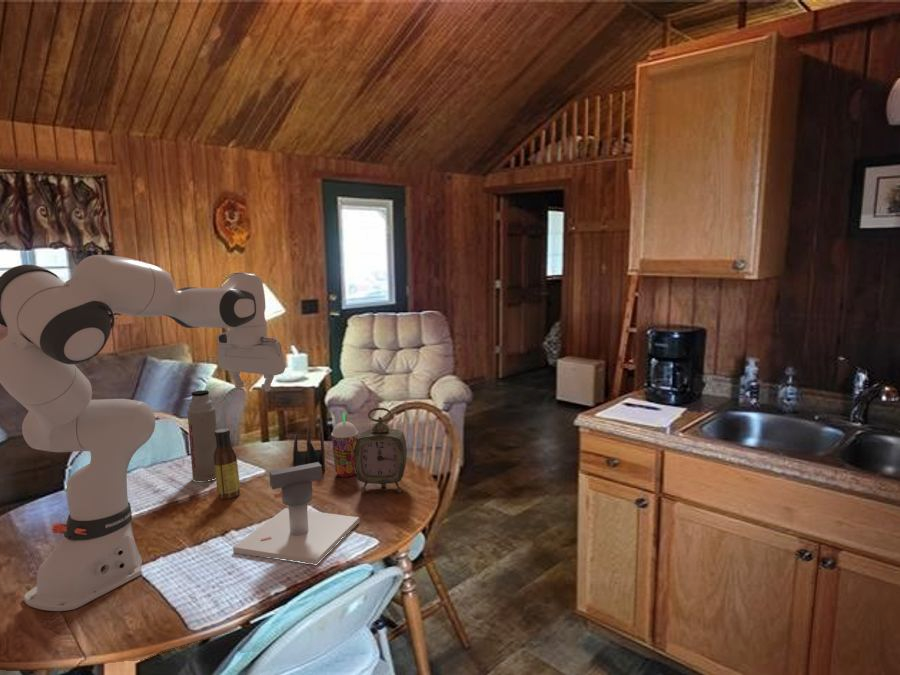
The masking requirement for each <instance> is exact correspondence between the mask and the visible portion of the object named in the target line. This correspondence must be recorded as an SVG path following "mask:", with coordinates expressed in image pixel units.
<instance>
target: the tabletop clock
mask: <svg viewBox="0 0 900 675" xmlns="http://www.w3.org/2000/svg"><path fill="white" fill-rule="evenodd" d="M375 411H385V412H387V413H388V414H389V417H387V418H384V419H383V417H382V416H379V417H378V418H377V419H375V418H373V417H371V413H373V412H375ZM367 416H368V419H370V420H371V421H372V422H375V423H374V424H373V426H372V428H371V429H370V428H369V429H365V430H363V431H361V432H360V434H359V435H358V439H357V442H356V445H355V453H354V463H355V471H356V473H355V475H356V477H357V479H358V481H359V482H361V483H364V485H363V486H362V487H361V488H360V490H359V491H360V492H361V493H365V492H366V491H367V489H366V487H367V485H368V484H374V485H380V486H381V487H382V486H384V487H386V485H387V484H395V485H396V492H397V493H401V492H403V489H402V487H401V486H400V485H399V482H401V481H402V478H403V476H404V472H405V469H406V466H407V459H408V458H407V457H408V456H407V455H408V449H407V440H406V437H405V434H404V432H403V431H402V430H400V429H393V428H390V427H389V425H388V424H387V423H385V422H389V421H390V420H391V419H392V417H393V413H392V412H391V410H389V409H387V408H385V407H375V408H373V409H371V410H370V411H368V414H367Z"/></svg>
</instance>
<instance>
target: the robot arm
mask: <svg viewBox="0 0 900 675" xmlns="http://www.w3.org/2000/svg"><path fill="white" fill-rule="evenodd" d="M265 295H266V294H265V290H264V285H263V281H262V279H261V277H260V276H258V274H255V273H250V272H233V273H231V274H230V275H229V278H228V280H227V281H226V282H225V283H224V284H222V285H221V286H219V287H192V286H186V287H182V288H181V287H180V288H179V289H176V286H175V282H174V279H173V277H172V276H171V274H170V273H169V272H168V271H167V270H165V269H163V268H161V267H160V266H158V265H154V264H153V263H149V262H145V261H141V260H138V259H134V258H129V257H126V256H119V255H110V254H93V255H90V256H87V257H85V258H83V259H82V260H81V261H80V262H79V263H78V264H77V265H76V267H75V268H74V270H73V274H72V277H71V278H69V279H68V280H66V281H64V280H62V279H61V278H60V277H59V276H58V275H57V274H56V273H54V272H52V271H51V270H49V269H47V268H44V267H41V266H39V265H34V264H20V265H17V266H13V267H11V268H10V269H7V270H6V271H5V272H4V273H2V274H1V275H0V325H1V326H3V327H5V328H7V331H8V332H7V335H6V336H5V337H4V338H3V339H2V340H0V384H1V386H2V387H3V389H5V391H6V392H7V393H8V394H9V395H10V396H11V397H12V398H13V399H15V400H16V402H18V403H19V404H21V406H23V407H24V408H25V409H26V410H27V411H28V412H27V414H26V415H25V416H24V419H23V422H22V426H21V431H22V432H21V433H22V436H23V439H24V441H25V443H26V444H27V445H28V446H29V447H30V448H31V449H34V450H39V451H45V452H53V453H71V452H72V453H73V452H89V453H90V462H89V463H88V464H86V465H84V466H81V468H79V469H77V470H76V471H75V472H74V473H73V474H72V475H71V476H70V477H69V479H68V482H67V484H66V490H67V499H68V500H67V501H68V510H69V514H68V516H67V519H66V524H64V523H60V522H56V523H54V524H53V525H52V527H51V531H52V533H53V534H60V535H62V534H63V537H62V538H61V540H60V541H59V542H58V543H57V545H56V546H55V547H54V549H52V551H51V552H50V553H49V554H48V556H47V557H46V558H45V559H44V561H43V562H42V563H41V564H40V565H39V567H38V569H37V574H36V585H35V586H34V587H32V588H31V589H30V590H28V591H27V592H26V593H25V594H24V597H23V602H24V603H25V604H26V605H27V606H29V607H31V608H34V609H36V610H37V609H38V610H42V611H49V612H50V611H51V612H64V611H71V610H76V609H78V608H80V607H83V606H84V605H86V604H88V603H90V602H91V601H93V600H95V599H97V598H100V597H101V596H103V595H105V594H107V593H109V592H111V591H113V590H114V589H117V588H118V587H121V586H122V585H124V584H126V583H127V582H128V583H129V581H132V580H134V579H135V578H137V577H139V576H141V575H142V574H143V571H142V567H141V566H142V564H143V558H142V556H141V554H140V552H139V550H138V547H137V544H136V541H135V536H134V533H133V528H132V522H131V521H132V520H133V515H132V513H133V512H132V508H131V507H132V506H131V503H130V502H129V501H128V500H129V499H128V498H129V497H128V480H127V479H128V469H129V465H130V462H131V460H132V458H133V456H134V455H135V454H136V452H137V451H138V450H139V449H140V448H142V446H143V445H145V444H146V443H147V442H148V441H149V440H150V439H151V437H152V435H153V433H154V432H155V427H156V416H155V413H154V411H153V409H152V408H151V406H150V405H149V404H148V403H146V402H145V401H141V400H135V399H127V398H106V399H105V398H103V399H102V398H101V399H92V396H93V389H92V384H91V381H90V380H89V378H87V377H86V375H85V374H84V373H83V371H81V370H80V369H79V368H78V366H77V365H78V364H82V363H85V362H87V361H89V360H91V359H93V358H94V357H95V356H97V355H98V354H99V353H100V352H102V350H103V349H104V347H105V346H106V344H107V342H108V340H109V337H110V335H111V331H112V329H113V327H114V325H115V314H121V315H125V316H131V317H140V318H141V317H142V318H152V317H161V316H166V317H168V318H170V319H172V320H173V321H175V322H176V323H177V324H179V326H182V327H184V328H186V329H198V328H207V329H208V328H211V329H212V328H215V329H229V330H227V331H224V332H223V333H220V334H217V335H216V337H215V338H216V342H217V344H218V345H217V349H216V350H217V351H216V353H217V364H218V367H219V368H220V370H221V371H226V372H227V371H228V372H230V376H231V379H232V380H233V382H234V388H235V389H243V388H244V387H245V385H244V384H245V380H242V378H241V376H240V374H241V373H246V374H247V373H249V374H256V375H257V374H259V375H263V379H265V380H264V382H263V384H261V385H260V386H261V391H262V392H271V390H272V384H273V380H274V378H275V376H278V375H282V374H284V372H285V371H286V362H285V356H284V352H283V349H282V344H281V342H280V340H278V339H277V338H275V337H268V328H267V327H268V325H267V319H266V318H265V317H266V316H265V313H266V312H265V311H266V296H265Z"/></svg>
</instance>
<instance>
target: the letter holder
mask: <svg viewBox="0 0 900 675" xmlns="http://www.w3.org/2000/svg"><path fill="white" fill-rule="evenodd" d="M298 438H299V437H298V434H297V433H296V434H294V440H293V450H292V458H293V459H292V461H293V462H292V465H293V466H292V467H294V466H300V465H305V464H310V463H316V462H319V463H320V464H321V465H322V473H324V471H326V466H325V465H326V461H325V460H326V459H325V458H326V454H325V453H326V450H325V449H326V448H325V437H324V426H323V418H322V417H321V416H320V418H319V438H320V439H319V440H320V449H315V447H314V446H313V444H312V442H311V427H310V426H309V425H308V426H307V431H306V450H301V451H299V450H298Z"/></svg>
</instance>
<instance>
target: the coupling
mask: <svg viewBox="0 0 900 675" xmlns="http://www.w3.org/2000/svg"><path fill="white" fill-rule="evenodd" d="M268 472H269V484H270V487H271V489H272V490H275V489H276V490H277V489H281V491H276V492H273V497H274V498H275V499H277V498H281V499H282V500H281V501H282V504H284V505H286V506H288V507H289V506H298V505H303V504H306V503H307V504H309V503H310V502H312V500H313V499H314V498H313V482H315V481H321V480H323V472H322V465H321V464H320V463H319V462H316V463H310V464H305V465H300V466H294V467H293V466H291V467H285V468H279V469H273V470H269V471H268Z"/></svg>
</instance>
